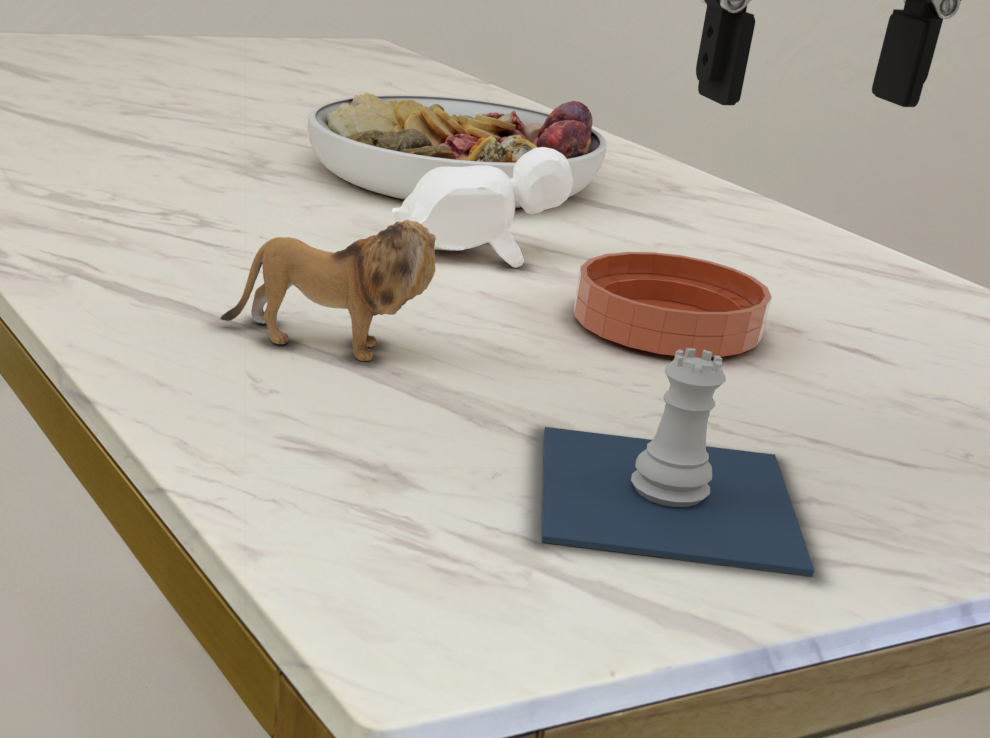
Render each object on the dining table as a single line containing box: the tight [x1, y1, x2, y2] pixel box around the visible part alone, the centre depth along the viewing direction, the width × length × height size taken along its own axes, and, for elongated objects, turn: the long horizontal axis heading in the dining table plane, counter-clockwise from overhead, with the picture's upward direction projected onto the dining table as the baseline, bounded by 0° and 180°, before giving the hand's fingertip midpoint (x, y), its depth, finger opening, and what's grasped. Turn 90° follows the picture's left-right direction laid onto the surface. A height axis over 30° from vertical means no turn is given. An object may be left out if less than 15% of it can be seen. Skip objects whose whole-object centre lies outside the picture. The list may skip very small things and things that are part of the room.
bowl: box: [307, 92, 608, 209], centre depth 128 cm, size 30×30×8 cm
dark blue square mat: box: [541, 426, 815, 577], centre depth 71 cm, size 14×14×1 cm
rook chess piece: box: [631, 348, 727, 507], centre depth 69 cm, size 4×4×8 cm
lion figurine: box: [219, 220, 436, 362], centre depth 85 cm, size 15×5×9 cm, turn 79°
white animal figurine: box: [391, 147, 573, 269], centre depth 106 cm, size 9×8×15 cm
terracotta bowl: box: [573, 251, 773, 358], centre depth 95 cm, size 14×14×4 cm
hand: (806, 100), depth 62 cm, fingers open, 9 cm apart
